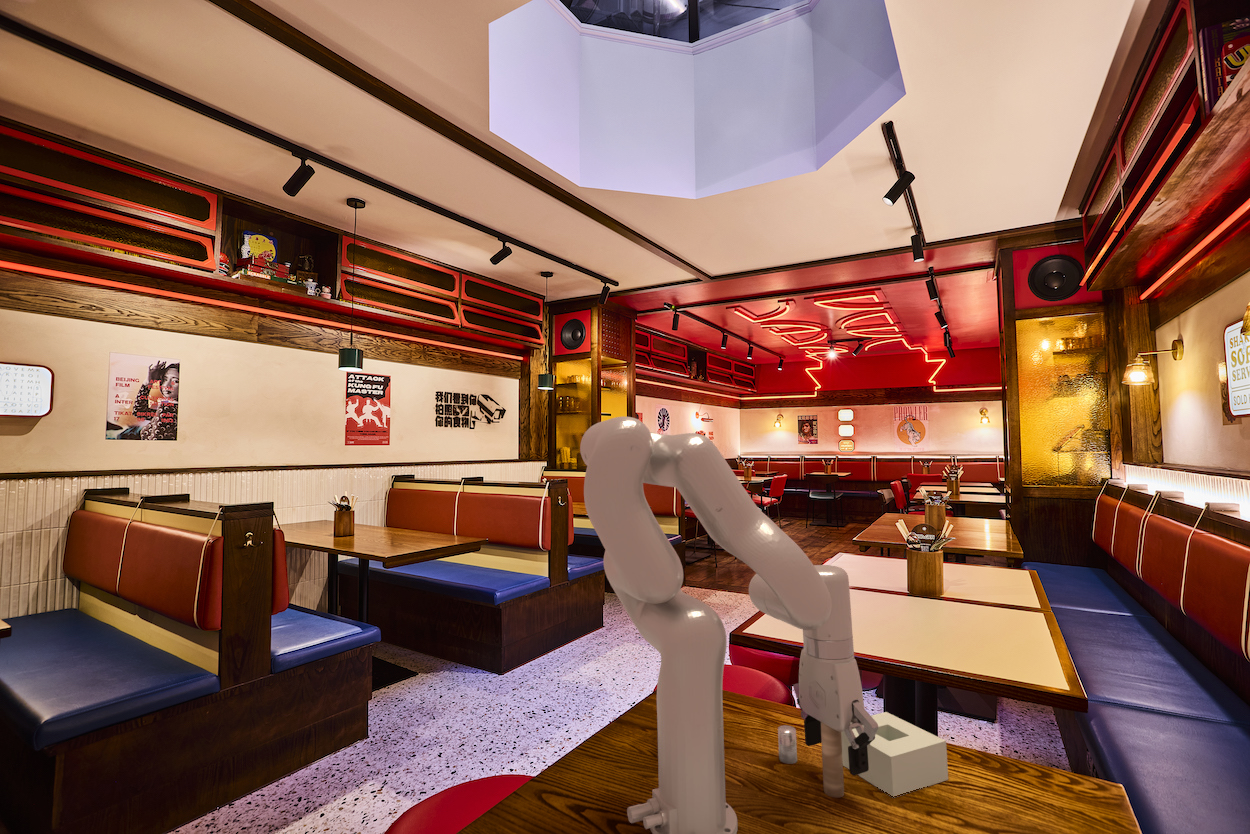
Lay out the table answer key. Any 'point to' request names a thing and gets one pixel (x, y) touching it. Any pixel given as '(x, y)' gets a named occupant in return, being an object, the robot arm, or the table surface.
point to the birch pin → (832, 761)
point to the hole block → (901, 756)
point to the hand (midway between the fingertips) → (835, 757)
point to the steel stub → (787, 744)
